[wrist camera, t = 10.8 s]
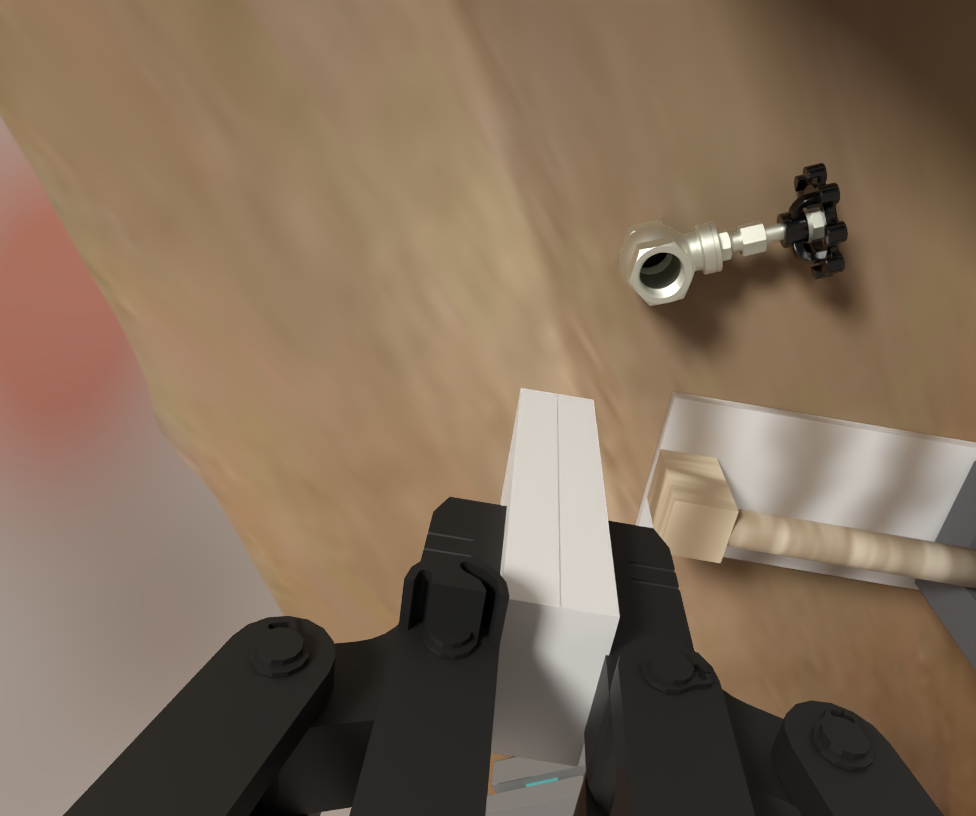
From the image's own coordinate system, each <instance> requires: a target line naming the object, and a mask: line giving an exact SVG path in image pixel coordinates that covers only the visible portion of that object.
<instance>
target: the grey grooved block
mask: <svg viewBox="0 0 976 816" xmlns="http://www.w3.org/2000/svg"><path fill="white" fill-rule="evenodd" d="M585 772H586V763H585V742H584V746H583V750H582V753H581V757H580V760H579V764H578V767H575V766H569V765H563V764H557V763H551V762H545V761H539V760H533V759H527V758H521V757H515V756H512V757H509V758H506V759H502V760H499V761H496V762H494V765H493V777H492V787H493V788H494V790H495V792H496V794H492V795H488V796H487V803H486V815H485V816H573V814H574V810H575V807H576V803H577V800H578V797H579V793H580V790H581V786H582V783H583V779H584V776H585Z"/></svg>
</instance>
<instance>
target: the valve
mask: <svg viewBox="0 0 976 816" xmlns="http://www.w3.org/2000/svg"><path fill="white" fill-rule="evenodd" d="M826 180H827V171H826V167H825V165H824V164H823V163H819V164H815V165H811V166H806V167H804V169H803V175H799V176H796V177H795V179H794V186H795V191H801V190H804V194H803V196H801V197H799V198H798V199H797V200H795V201H794V202H793V204H792V205H791V206H790V209H789V212H786V213H782V214H779V215H778V217H777V224H773V225H769V226H764V225H763V223H762V222H761V221H759V220H758V221H753V222H749V223H745V224H740V225H736V232H732V233H728V231H727V230H726V229H724V228H723V229H719V230H717V228H716V226H715V224H714V222H712V221H710V222H706V223H702V224H698V225H695V228H694V231H693V232H689V233H684V234H682V233H679V232H678V231H677V230H675V229H673V228H671V227H669V226H666V225H664V224H663V222H662V221H661V220H660V219H657V220H653V221H648V222H644V223H640V224H636V225H632V226H629V228H628V230H627V233H626V236H625V239H624V242H623V244H622V247H621V250H620V253H619V257H620V258H619V265H620V271H621V274H622V276H623V278H624V280H625V281H626V283H627V284H628V285H629V286H630V287H631V288H632V289H633V290H635V291H636V292H637V293H638V294H639V295H640V296H641V297H642V298H643V299H644V300H645V301H646V302H647V304H648V305H649V306H653V305H659V304H664V303H669V302H673V301H677V300H680V299H683V298H684V297H685V294H686V292H687V290H688V288H689V285H690V283H691V281H692V278H693V275H694V272H695V271H699V270H702V272H703V274H704V275H706V274H711V273H715V272H720V271H722V268H723V261H726V260H730V259H731V257H732V253H734V252H738V251H739V252H740V253H741V254H742V255H743V256H748V255H752V254H756V253H761V252H765V251H766V248H767V243H771V242H775V241H780V243H781V245H782V246H783V247H784V248H788V247H792V251H793V253H794V255H795V256H796V258H797V259H799V260H800V261H802V262H805V263H818V262H819V263H818V266H814V267H811V272H812V275H813V277H814V279H820V278H824V277H829V276H832V275H833V273H838V272H842V271H843V270H844V267H845V263H844V258H843V255H842V253H841V252H839V248H838V244H839V243H840V242H844V241H846V240H847V237H848V232H847V227H846V224H845V223H844V222H843V221H838V218H837V213H836V204H837V203H838V202H839V200H840V191H839V187H838V185H837V184H836V183H830V184H826V183H825V182H826ZM816 204H819V207H817V208H816ZM823 237H824V244H823V242H822V240H821V238H823ZM663 252H665V253H667V255H666V257H665V258H664V260H663V261H662V262H660V263H659V264H658V265H656V266H654V267H650V268H644V267H642V265H643V263H644V262H645V261H646V260H647V259H648V258H649V257H651V256H652V255H654V254H657V253H663Z"/></svg>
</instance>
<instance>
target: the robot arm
mask: <svg viewBox="0 0 976 816" xmlns="http://www.w3.org/2000/svg"><path fill="white" fill-rule="evenodd" d="M674 570H675V568H674V564H673V560H672V556H671V551H670V548H669V547H668V545H667V544H666V543H665V542H664V541H663V539H662V538H661V537H660V536H659V534H658V533H657V532H656V531H655V530H654V528H649V527H643V526H637V525H631V524H625V523H619V522H612V521H608V516H607V507H606V499H605V491H604V482H603V474H602V466H601V457H600V449H599V441H598V433H597V424H596V416H595V408H594V400H592V399H586V398H579V397H573V396H567V395H561V394H555V393H549V392H543V391H536V390H530V389H524V388H521V391H520V396H519V402H518V408H517V413H516V419H515V424H514V430H513V436H512V441H511V447H510V452H509V458H508V464H507V469H506V475H505V481H504V486H503V492H502V497H501V505H496V504H490V503H484V502H478V501H472V500H466V499H460V498H454V497H449V498H448V499H447V500H446V501H445V502H444V503H442V504H441V505H440V506H439V507H438V508H437V509H436V510H435V511H434V512H433V515H432V519H431V523H430V527H429V531H428V535H427V539H426V542H425V546H424V550H423V554H422V558H421V561H420V562H419V563H417V564H415V565H414V566H412V567H411V569H410V570H409V572H408V574H407V575H406V577H405V578H404V586H403V594H402V603H401V611H400V620H399V624H398V625H397V626H396V627H395V628H393V629H392V630H390V631H389V632H387V633H385V634H383V635H381V636H378V637H375V638H373V639H369V640H363V641H357V642H347V643H336V644H334V641H333V640H332V639H331V637H330V636H329V635H328V633H327V632H326V631H325V630H324V628H322V627H320V626H318V625H316V624H315V623H313V622H311V621H309V620H307V619H301V618H296V617H291V616H282V617H269V618H265V619H262V620H259V621H257V622H254V623H251V624H248V625H247V626H245V627H244V628H243V629H241V630H240V631H239V632H237V633H236V634H235V635H233V636H232V637H231V638H230V639H229V640H228V641H227V642H226V643H225V645H223V647H222V648H221V649H220V650H219V651H218V652H217V653H216V654H215V655H214V656H213V657H212V658H211V660H209V661H208V662H207V663H206V665H205V666H204V667H203V668H202V669H201V670H200V671H199V672H198V673H197V674H196V675H195V676H194V677H193V678H192V679H191V680H190V682H189V683H188V684H187V685H186V686H185V687H184V688H183V689H182V690H181V691H180V692H179V693H178V694H177V695H176V696H175V697H174V698H173V699H172V701H171V702H170V703H169V704H168V705H167V706H166V707H165V708H164V709H163V710H162V711H161V712H160V713H159V714H158V715H157V717H155V719H154V720H153V721H152V722H151V723H150V724H149V725H148V726H147V727H146V728H145V729H144V730H143V731H142V733H140V734H139V735H138V737H137V738H136V739H135V740H134V741H133V742H132V743H131V744H130V745H129V746H128V747H127V748H126V749H125V750H124V752H122V754H121V755H120V756H119V757H118V758H117V759H116V760H115V761H114V762H113V763H112V764H111V765H110V766H109V767H108V768H107V770H106V771H105V772H104V773H103V774H102V775H101V776H100V777H99V778H98V779H97V780H96V781H95V783H93V784H92V785H91V786H90V787H89V788H88V790H87V791H86V792H85V793H84V794H83V795H82V796H81V797H80V798H79V799H78V800H77V801H76V802H75V803H74V804H73V806H72V807H71V808H70V809H69V810H68V811H67V812H66V813H65V814H64V815H63V816H320V814H321V812H323V811H330V810H336V809H343V808H349V807H352V808H351V812H350V816H485V815H486V803H487V791H488V779H489V768H490V756H491V753H497V754H503V755H509V756H515V757H521V758H527V759H533V760H539V761H545V762H551V763H557V764H563V765H569V766H575V767H578V764H579V760H580V757H581V753H582V750H583V746H584V742H585V763H586V772H585V776H584V779H583V783H582V786H581V790H580V793H579V797H578V800H577V803H576V807H575V810H574V814H573V816H944V815H943V814H942V813H941V811H940V810H939V809H938V807H937V806H936V805H935V803H934V802H933V801H932V799H931V798H930V797H929V795H928V794H927V793H926V791H925V790H924V789H923V787H922V786H921V785H920V783H919V782H918V781H917V779H916V778H915V776H914V775H913V774H912V772H911V771H910V770H909V768H908V767H907V766H906V764H905V763H904V762H903V760H902V759H901V758H900V756H899V755H898V754H897V752H896V751H895V750H894V748H893V747H892V746H891V744H890V743H889V742H888V741H887V740H886V739H885V738H884V737H883V736H882V734H881V733H880V732H879V731H878V730H877V729H876V728H875V727H874V726H873V725H871V724H870V723H868V722H867V721H865V720H864V719H862V718H861V717H859V716H858V715H857V714H855V713H854V712H852V711H849V710H847V709H844V708H842V707H839V706H837V705H834V704H832V703H825V702H818V701H808V702H803V703H799V704H796V705H795V706H794V707H793V708H792V709H791V710H790V711H789V712H788V713H787V714H786V716H785V718H784V719H782V718H779V717H777V716H775V715H772V714H770V713H767V712H765V711H763V710H760V709H758V708H755V707H753V706H751V705H748V704H746V703H744V702H742V701H740V700H738V699H736V698H734V697H732V696H731V695H730V694H728V693H727V692H725V691H724V690H722V688H721V684H720V681H719V679H718V677H717V675H716V673H715V671H714V669H713V667H712V666H711V665H710V664H709V663H708V662H707V661H706V660H705V659H704V658H703V657H702V656H701V655H700V654H699V653H697V652H695V651H694V648H693V644H692V639H691V635H690V631H689V627H688V623H687V618H686V614H685V610H684V606H683V602H682V598H681V593H680V590H678V587H679V585H678V581H677V577H676V573H674Z"/></svg>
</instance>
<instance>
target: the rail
mask: <svg viewBox="0 0 976 816" xmlns="http://www.w3.org/2000/svg"><path fill="white" fill-rule="evenodd" d="M974 461H976V442H970V441H964V440H958V439H952V438H946V437H940V436H934V435H928V434H922V433H916V432H910V431H904V430H898V429H893V428H887V427H881V426H875V425H869V424H863V423H857V422H851V421H845V420H839V419H833V418H827V417H821V416H815V415H809V414H803V413H797V412H791V411H785V410H780V409H774V408H768V407H762V406H756V405H750V404H744V403H738V402H732V401H726V400H720V399H714V398H708V397H702V396H696V395H690V394H684V393H678V392H673V393H672V396H671V400H670V403H669V407H668V411H667V414H666V418H665V421H664V425H663V428H662V432H661V435H660V439H659V443H658V446H657V450H656V453H655V457H654V460H653V464H652V467H651V471H650V475H649V478H648V482H647V485H646V489H645V492H644V496H643V499H642V503H641V506H640V510H639V514H638V517H637V521H636V524H635V525H637V526H643V527H649V528H654V530H655V531H656V532H657V533H658V534H659V536H660V537H661V538H662V539H663V541H664V542H665V543H666V544H667V545H668V547H669V548H670V551H671V555H674V556H680V557H686V558H692V559H698V560H704V561H710V562H715V563H721V561H722V558H723V557H726V558H732V559H738V560H744V561H750V562H756V563H762V564H768V565H774V566H779V567H785V568H791V569H797V570H803V571H809V572H815V573H821V574H827V575H833V576H839V577H844V578H850V579H856V580H862V581H868V582H874V583H880V584H886V585H892V586H898V587H904V588H909V589H915V590H919V588H918V587H917V585H916V584H915V580H916V578H917V579H923V580H929V581H935V582H941V583H947V584H953V585H959V586H965V587H971V588H976V549H974V548H968V547H962V546H956V545H950V544H944V543H938V542H935V540H936V538H937V536H938V534H939V532H940V530H941V528H942V526H943V524H944V521H945V519H946V517H947V515H948V513H949V511H950V509H951V507H952V505H953V503H954V501H955V499H956V497H957V495H958V493H959V491H960V489H961V487H962V485H963V483H964V481H965V479H966V477H967V475H968V473H969V471H970V469H971V467H972V465H973V463H974Z"/></svg>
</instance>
